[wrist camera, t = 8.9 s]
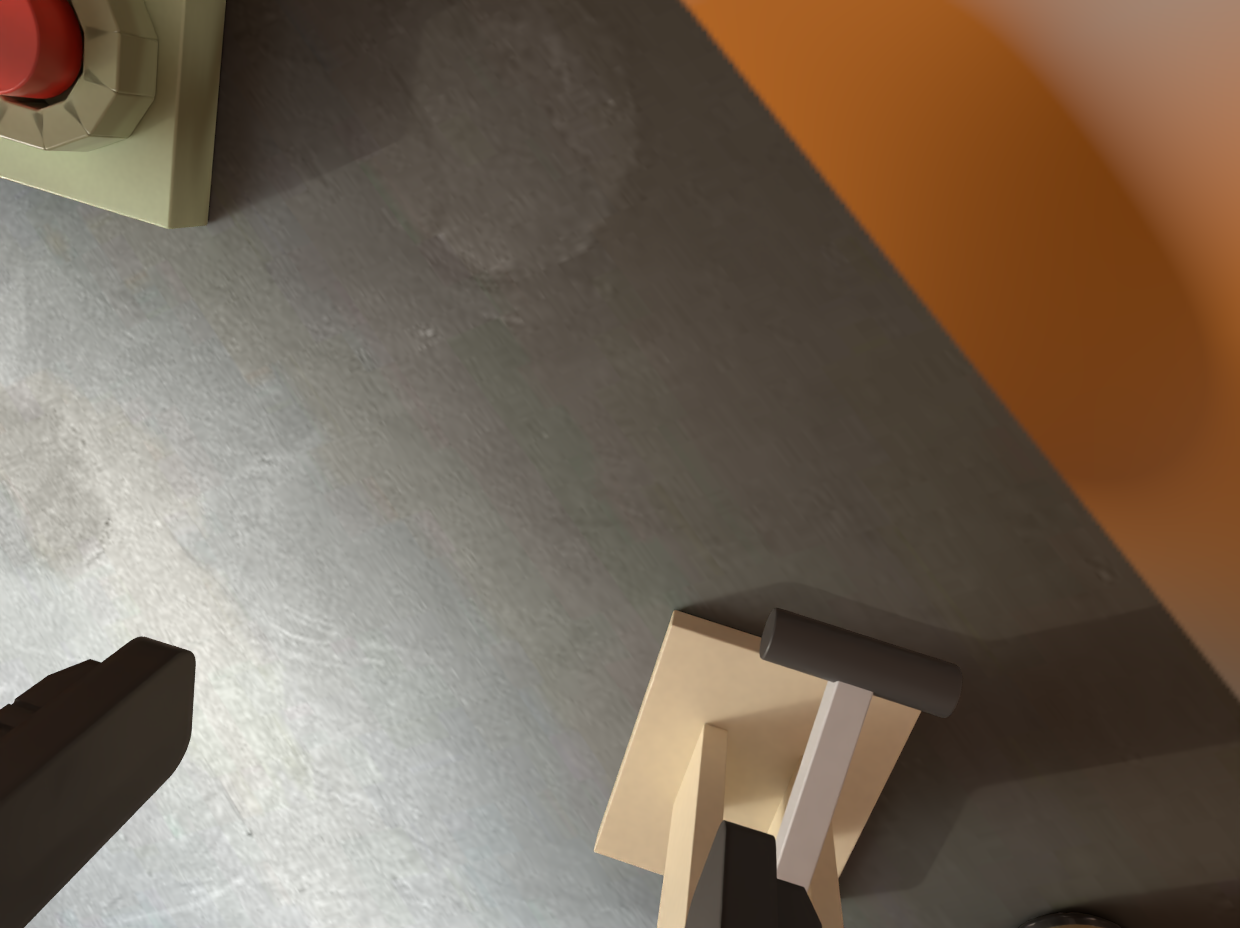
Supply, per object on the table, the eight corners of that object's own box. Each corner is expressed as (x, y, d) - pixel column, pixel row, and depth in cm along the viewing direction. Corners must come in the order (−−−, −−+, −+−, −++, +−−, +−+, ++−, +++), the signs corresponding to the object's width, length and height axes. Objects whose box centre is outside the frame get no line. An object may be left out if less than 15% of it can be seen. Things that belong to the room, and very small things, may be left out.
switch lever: (770, 599, 25) (780, 616, 23) (945, 655, 25) (974, 678, 23) (642, 997, 26) (638, 1053, 24) (811, 1055, 26) (825, 1119, 23)
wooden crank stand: (674, 608, 33) (627, 856, 21) (919, 687, 33) (1012, 986, 21) (598, 831, 37) (523, 1142, 25) (813, 904, 37) (840, 1256, 25)
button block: (10, -144, 28) (-107, -193, 24) (234, -80, 27) (150, -120, 23) (10, 165, 31) (-91, 164, 27) (208, 226, 31) (133, 233, 27)
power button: (-23, -45, 25) (-77, -60, 24) (86, -13, 25) (39, -26, 23) (-21, 81, 27) (-72, 75, 25) (82, 112, 26) (38, 108, 25)
